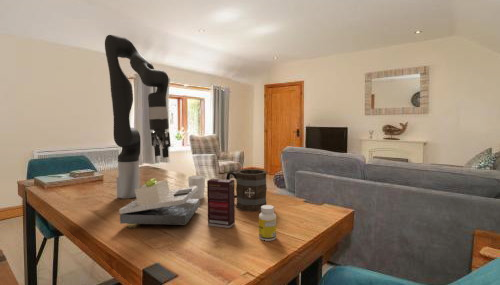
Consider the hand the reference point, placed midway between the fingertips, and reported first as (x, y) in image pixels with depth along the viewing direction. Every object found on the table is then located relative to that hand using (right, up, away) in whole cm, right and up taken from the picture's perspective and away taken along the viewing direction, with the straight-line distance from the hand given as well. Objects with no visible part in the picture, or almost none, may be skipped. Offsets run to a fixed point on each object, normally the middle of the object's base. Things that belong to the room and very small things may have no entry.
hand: (161, 156), depth 115 cm
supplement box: (+27, -23, -20) cm, 41 cm away
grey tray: (+5, -22, -15) cm, 27 cm away
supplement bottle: (+43, -24, -30) cm, 58 cm away
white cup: (+12, -21, +15) cm, 28 cm away
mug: (+35, -22, +3) cm, 42 cm away
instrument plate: (+5, -15, -15) cm, 22 cm away
